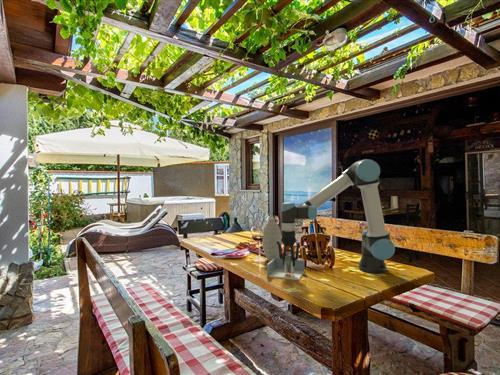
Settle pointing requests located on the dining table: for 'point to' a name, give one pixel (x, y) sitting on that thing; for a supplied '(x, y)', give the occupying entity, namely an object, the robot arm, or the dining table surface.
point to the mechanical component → (288, 261)
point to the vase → (271, 239)
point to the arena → (278, 269)
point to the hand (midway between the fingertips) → (289, 271)
